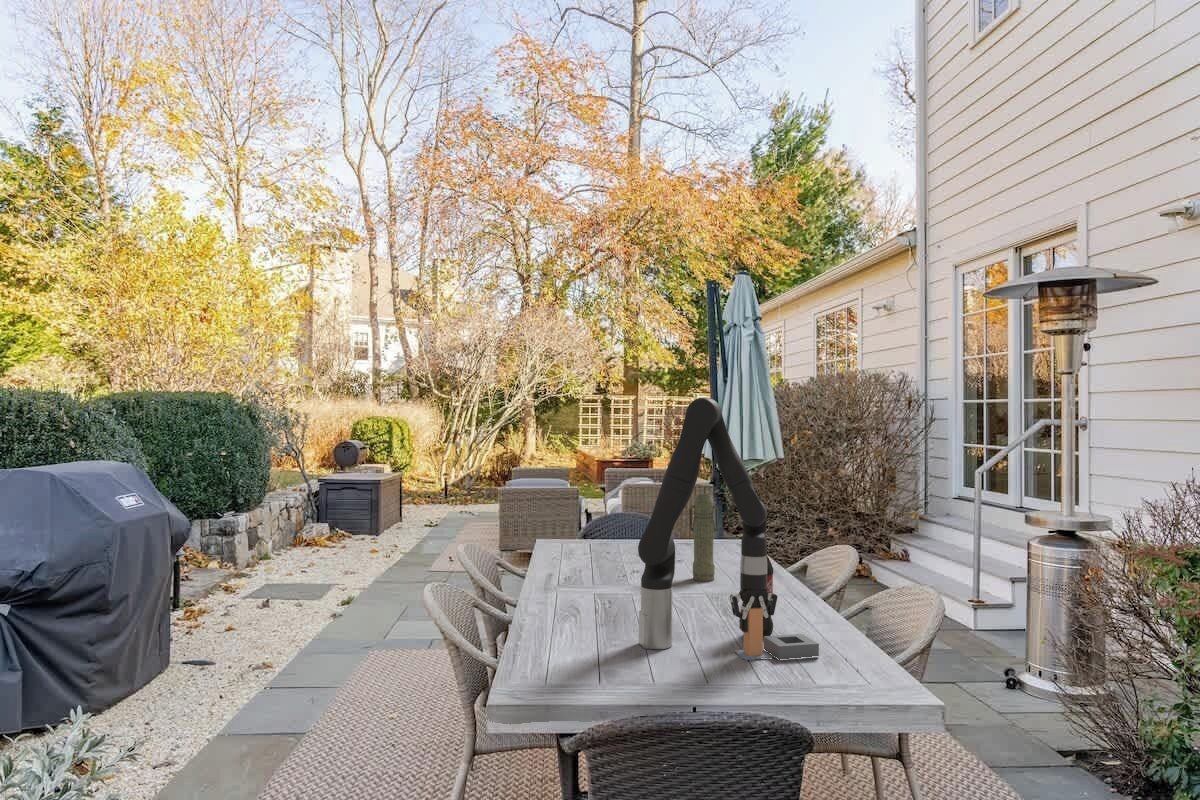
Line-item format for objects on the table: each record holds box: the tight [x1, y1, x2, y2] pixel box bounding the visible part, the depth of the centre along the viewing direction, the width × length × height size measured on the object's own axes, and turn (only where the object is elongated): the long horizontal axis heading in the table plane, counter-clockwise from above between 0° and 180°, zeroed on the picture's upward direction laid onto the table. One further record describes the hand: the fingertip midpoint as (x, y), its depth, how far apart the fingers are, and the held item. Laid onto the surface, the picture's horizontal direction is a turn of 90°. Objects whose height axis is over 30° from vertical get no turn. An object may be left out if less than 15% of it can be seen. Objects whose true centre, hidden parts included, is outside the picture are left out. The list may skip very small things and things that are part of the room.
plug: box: [743, 607, 764, 656], centre depth 222 cm, size 4×4×13 cm
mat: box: [734, 648, 773, 661], centre depth 222 cm, size 8×8×1 cm
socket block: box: [763, 633, 820, 661], centre depth 223 cm, size 12×10×4 cm
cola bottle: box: [763, 553, 774, 639], centre depth 242 cm, size 8×8×30 cm
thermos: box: [688, 493, 720, 583], centre depth 322 cm, size 9×12×35 cm
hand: (753, 630), depth 222 cm, fingers open, 5 cm apart
